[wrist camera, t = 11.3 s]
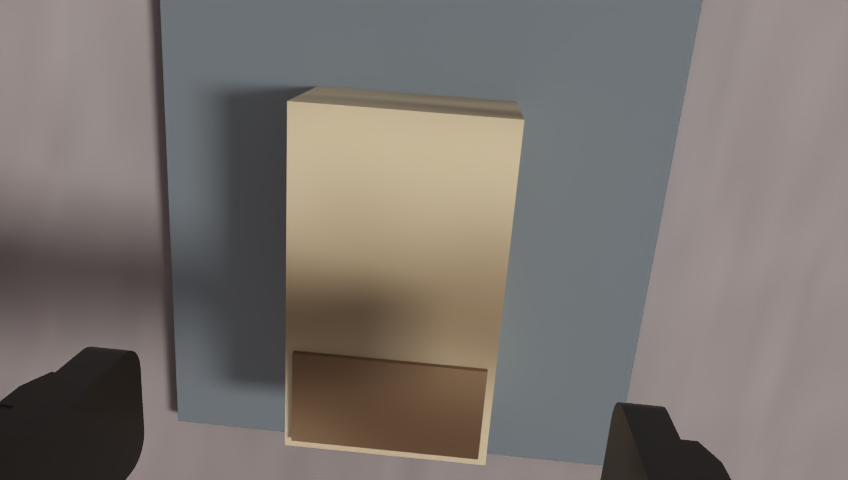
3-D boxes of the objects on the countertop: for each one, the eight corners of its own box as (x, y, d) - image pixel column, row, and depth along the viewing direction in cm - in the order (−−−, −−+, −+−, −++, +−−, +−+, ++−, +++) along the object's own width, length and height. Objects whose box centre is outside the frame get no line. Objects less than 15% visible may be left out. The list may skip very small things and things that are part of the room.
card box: (317, 86, 18) (285, 102, 15) (516, 101, 17) (525, 120, 14) (311, 383, 20) (283, 448, 17) (483, 400, 20) (485, 468, 17)
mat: (762, -357, 15) (773, -370, 14) (610, 456, 21) (613, 466, 20) (152, -391, 15) (142, -404, 15) (184, 411, 21) (178, 420, 21)
